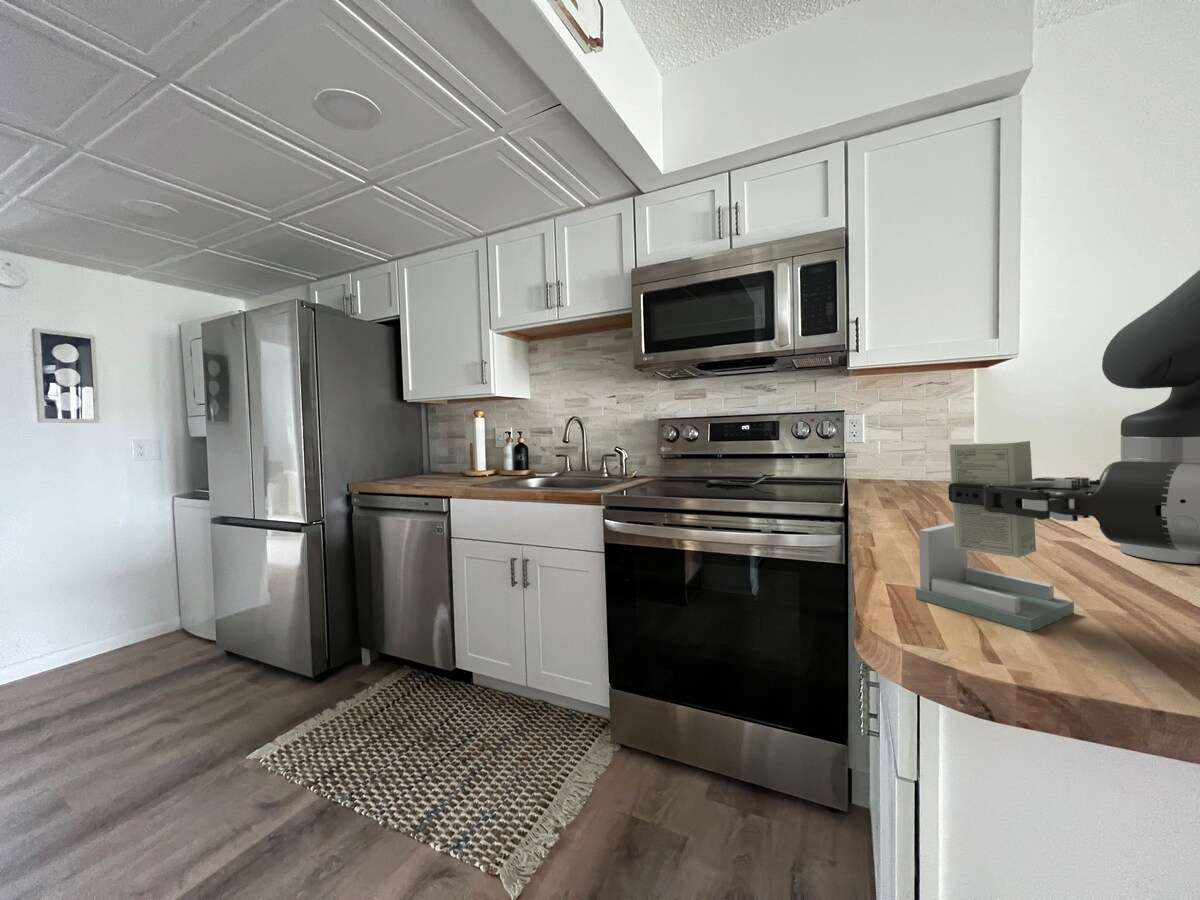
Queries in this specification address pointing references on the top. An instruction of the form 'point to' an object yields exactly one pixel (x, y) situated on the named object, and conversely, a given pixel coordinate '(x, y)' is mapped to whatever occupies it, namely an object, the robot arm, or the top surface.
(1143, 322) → the robot arm
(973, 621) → the top surface
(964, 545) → the skincare box
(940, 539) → the deck socket
